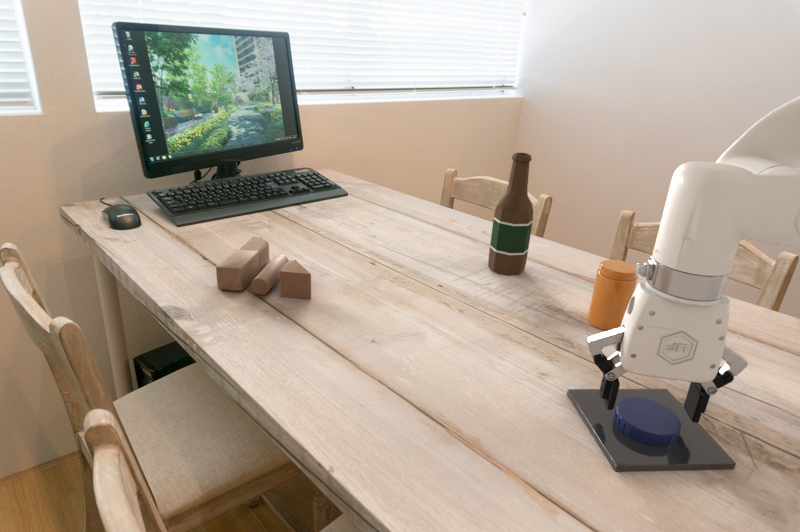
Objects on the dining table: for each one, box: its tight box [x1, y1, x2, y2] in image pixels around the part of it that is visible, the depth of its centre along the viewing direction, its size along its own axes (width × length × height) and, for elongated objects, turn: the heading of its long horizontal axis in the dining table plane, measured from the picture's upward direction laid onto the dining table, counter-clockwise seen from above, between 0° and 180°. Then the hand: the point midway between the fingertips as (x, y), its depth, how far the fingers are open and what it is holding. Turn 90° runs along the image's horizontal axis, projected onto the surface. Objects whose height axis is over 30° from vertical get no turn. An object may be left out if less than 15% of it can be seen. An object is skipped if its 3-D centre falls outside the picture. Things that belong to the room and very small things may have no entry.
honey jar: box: [586, 259, 639, 331], centre depth 89 cm, size 6×6×10 cm
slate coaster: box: [566, 388, 737, 472], centre depth 65 cm, size 14×14×1 cm
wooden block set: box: [215, 236, 312, 300], centre depth 99 cm, size 17×6×18 cm
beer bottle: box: [487, 152, 534, 276], centre depth 106 cm, size 8×8×24 cm
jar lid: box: [614, 397, 681, 446], centre depth 64 cm, size 7×7×2 cm
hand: (648, 409), depth 64 cm, fingers open, 9 cm apart
